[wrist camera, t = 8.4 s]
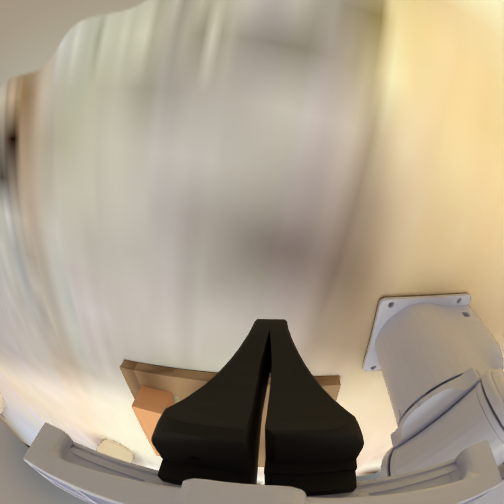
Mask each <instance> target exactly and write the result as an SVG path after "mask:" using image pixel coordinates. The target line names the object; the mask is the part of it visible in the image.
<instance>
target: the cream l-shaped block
mask: <svg viewBox="0 0 504 504" xmlns="http://www.w3.org/2000/svg"><path fill="white" fill-rule="evenodd" d="M6 405H7V404H6V401H5V400H4V398H3V396H2V395H1V393H0V414H1V412H2V411H3V410H4V408H5V407H6Z"/></svg>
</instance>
